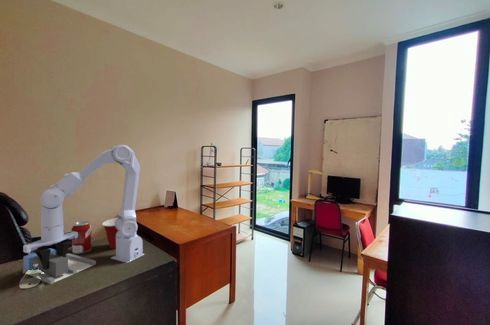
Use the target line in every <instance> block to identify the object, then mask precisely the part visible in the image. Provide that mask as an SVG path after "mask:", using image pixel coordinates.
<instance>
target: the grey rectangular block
mask: <svg viewBox="0 0 490 325" xmlns="http://www.w3.org/2000/svg"><path fill="white" fill-rule="evenodd" d="M37 263H38V264H37V268H38V269H39V270H41V271H42V272H44V273H47V274H50V275H52V276H55V277H57V276H59V275H62V274H64V273H66V272H68V258H66V256H65V257H62V256H58V255H57V254H56V255H55V254H52V253H50V256H49V269H47V270H46V269H43V267H42V263H41V261H40V259H39V257H38V258H37Z"/></svg>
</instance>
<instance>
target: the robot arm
mask: <svg viewBox="0 0 490 325" xmlns="http://www.w3.org/2000/svg"><path fill="white" fill-rule="evenodd" d="M115 162H116V163H118V164H119V165H120V166H121V167H122V168H123V169H124V170H125V174H124V175H125V176H124V182H123V188H122V199H121V205H120V206H121V207H120V210H119V213H118V217H116V218H117V220H116V222H115V227H116V229H117V230H118V232H117V234H116V249H115V255H113V256H111V257H110V259H112V260H116V261H120V262H123V263H131V262H132V261H134V260H136V259H138V258H140V257H142V256H144V255H145V253H143V251H144V250H143V248H144V247H143V244H144V243H143V242H144V241H143V238H142V237H141V236H139V235H138V234H137V232H138V227H139V226H138V224H137V214H136V203H137V196H138V188H139V180H140V174H141V173H140V171H141V165H140V163H139V161H138V159H137V157H136V154H135V151H134V150H133V149H132V148H131V147H129V146H128V145H126V144H119V145H114V146H111V147H110V148H109V149H107V150H105V151H103V152H101V153H100V154H98V155H97V156H96V157H95V158H93V160H91V161H90V162H89V163H87V164H86V165H85V166H83V167H82V168H81V169H80V170H78V171H76V172H75V171H72V172H69V173H65V174H64V175H62V176H63V178H61V179H60V180H58V181H57V182H56V183H54V184H51V185H50V186H49V189H48V188H47V189H46V190H44V191H43V192H42V193H41V195H40V198H39V202H40V204H41V207H40V211H41V212H40V238H41V239H39V240H36V241H33V242H30V243H28V244H25V245H23V247H22V248H23V250H22V252H23V253H25V254H29V253H31V252H32V251H33V253H36V254H37V256H38V257H39V259H40V261H41V263H42V267H43V269H46V270H47V269H49V256H50V251H51V249H52V248H51V249H49V248H48V247H49V246H52V245H55V250H56V255H58V256H62V257H65V258H66V254H67V252H68V250H69V248H70V246H72V238H78V232H72V231H71V232H67V233H65V232H64V228H65V225H64V210H63V203H64V200H65V198H69V197H70V196H71V195H73V193H75V192H76V191H77V190H79V189H80V188H81V187H82V186H84V185H85V183H86V182H85V180H86V178H88V177H89V176H90V175H92V174H93V173H95V172H96V171H97V170H98V169H100V168H102V167H103V166H104V165H107V164H112V163H115Z"/></svg>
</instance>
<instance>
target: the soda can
mask: <svg viewBox="0 0 490 325" xmlns="http://www.w3.org/2000/svg"><path fill="white" fill-rule="evenodd" d="M70 230H71V232H78V238H72V239H71V254H73V255H79V254H84V253H88V252H90V251H91V250H92V249H93V244H92V243H93V242H92V240H93V238H92V237H93V236H92V230H93V229H92V225H91V224H90V221H86V220H84V221H77V222H75V223H73V226H72V227H71V229H70Z"/></svg>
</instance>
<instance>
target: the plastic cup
mask: <svg viewBox="0 0 490 325" xmlns="http://www.w3.org/2000/svg"><path fill="white" fill-rule="evenodd" d="M117 218H118V217H116V218H115V217H114V218H111V219H107V220H105V221H103V222H102V223H101V225H102V227H104V230H105V234H106V237H107V238H106V239H107V242H108V246H109V249H110V250H116V234H117V232H118V230H117V229H116V227H115V222H116V220H117Z"/></svg>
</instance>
